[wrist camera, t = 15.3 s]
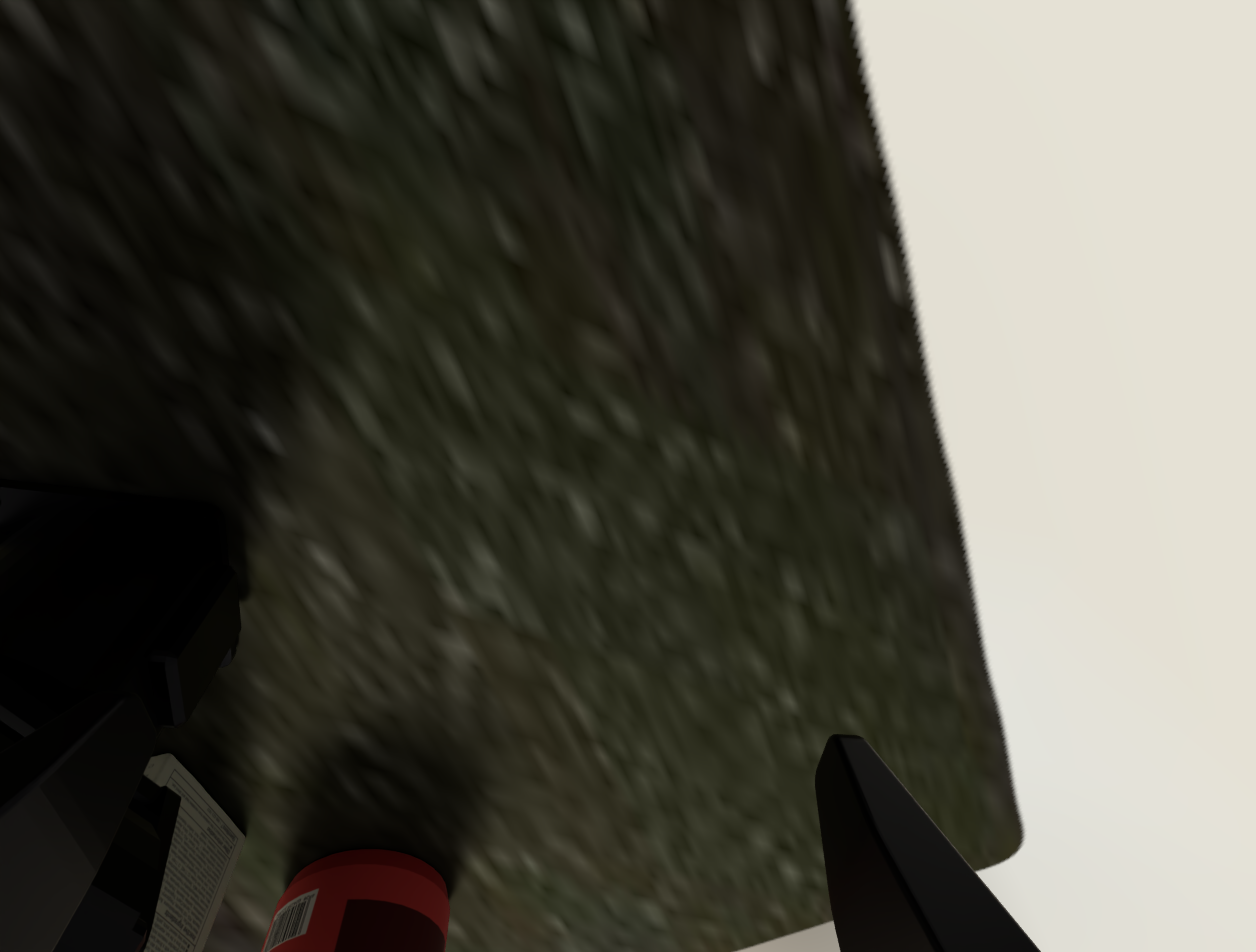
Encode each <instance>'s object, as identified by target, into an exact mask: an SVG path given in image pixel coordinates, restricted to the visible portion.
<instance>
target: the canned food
mask: <svg viewBox="0 0 1256 952" xmlns="http://www.w3.org/2000/svg"><path fill="white" fill-rule="evenodd" d="M449 914H450V906H449V900H448V893H447V888H446V884H445V882H444V880H443V878H442V877H441V875H440V874H439V873H438V872H437V871H436V870H435V869H434V868H433V867H431V866H430V865H428V864H427V863H425V862H424V861H422V860H420V859H418V858H415V857H413V856H411V855H408V854H404V853H401V852H397V851H391V850H383V849H357V850H349V851H344V852H340V853H335V854H332V855H329V856H327V857H324V858H321V859H319V860H317V861H315V862H313V863H311V864H310V865H308V866H306V867H305V868H304V869H302V870H301V871H300V872H299V873H298V874H297V875H296V876H295V877H294V879H293V880H292V882H291V883H290V885H289V886H288V888H287V889H286V891H285V892H284V894H283V895H282V897H281V899H280V900H279V902H278V904H277V907H276V910H275V913H274V916H273V919H272V922H271V925H270V928H269V930H268V933H267V936H266V939H265V942H264V945H263V948H262V951H261V952H445V947H446V939H447V931H448V922H449Z"/></svg>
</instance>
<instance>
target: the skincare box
mask: <svg viewBox="0 0 1256 952" xmlns="http://www.w3.org/2000/svg"><path fill="white" fill-rule="evenodd" d="M144 775H145V776H146V777H148V778H149V779H150V780H152V781H153V782H155V783H156V784H157V785H159V786H160V787H162V786H167V787H169V788H170V789H171V790H173V791H174V792H175V793H177V794H178V795H180V796H181V803H180V808H179V812H178V816H177V821H176V825H175V830H174V834H173V838H172V843H171V847H170V851H169V856H168V860H167V864H166V869H165V873H164V878H163V882H162V886H161V891H160V895H159V899H158V904H157V908H156V912H155V917H154V921H153V925H152V930H151V933H150V936H149V939H148V942H147V945H146V948H145V950H144V952H202V951H203V948H204V945H205V943H206V940H207V938H208V935H209V933H210V930H211V927H212V925H213V922H214V920H215V917H216V915H217V912H218V909H219V907H220V904H221V902H222V899H223V896H224V894H225V891H226V889H227V886H228V883H229V881H230V878H231V876H232V873H233V870H234V868H235V865H236V863H237V860H238V857H239V855H240V852H241V850H242V847H243V844H244V842H245V836H244V835H243V833H242V832H241V831H240V830H239V829H238V828H237V826H236V825H235V824H234V823H233V822H232V820H231V819H230V818H229V817H228V815H227V814H226V813H225V812H224V811H223V810H222V809H221V808H220V806H219V805H218V804H217V803H216V802H215V801H214V800H213V799H212V798H211V797H210V795H209V794H208V793H207V792H206V791H205V789H204V788H203V787H202V786H201V785H200V783H199V782H198V781H197V780H196V779H195V778H194V777H193V776H192V775H191V774H190V773H189V772H188V771H187V770H186V769H185V768H184V767H183V766H182V765H181V763H180V762H179V761H178V760H177V759H176V758H175V757H174V756H173V755H172V754H170V753H166V754H162V755H158V756H154V757H151V758H150V761H149V763H148V765H147V767H146V769H145V771H144Z"/></svg>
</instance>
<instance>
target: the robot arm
mask: <svg viewBox="0 0 1256 952" xmlns="http://www.w3.org/2000/svg"><path fill="white" fill-rule="evenodd" d="M198 516H202V517H205V518H206V519H208V520H209V522H210V523H206V522H203V521H202V520H200V519H199V517H198ZM240 630H241V619H240V607H239V595H238V583H237V573H236V572H235V570H234V569H233V568H232V566H229V561H228V550H227V538H226V527H225V517H224V515H223V512H222V511H221V510H220V509H219V508H218V507H216V506H215V505H213V504H210V503H206V502H198V501H190V500H181V499H172V498H163V497H155V496H146V495H137V494H128V493H120V492H111V491H102V490H93V489H85V488H76V487H67V486H58V485H50V484H41V483H32V482H23V481H15V480H6V479H0V952H144V950H145V948H146V945H147V942H148V939H149V936H150V933H151V930H152V925H153V921H154V917H155V912H156V908H157V904H158V899H159V895H160V891H161V886H162V882H163V878H164V873H165V869H166V864H167V860H168V856H169V851H170V847H171V843H172V838H173V834H174V830H175V825H176V821H177V816H178V812H179V808H180V803H181V796H180V795H178V794H177V793H175V792H174V791H173V790H171V789H170V788H169V787H167V786H162V787H160V786H159V785H157V784H156V783H155V782H153V781H152V780H150V779H149V778H148V777H146V776H145V775H144V771H145V769H146V767H147V765H148V763H149V761H150V758H151V756H152V754H153V752H154V749H155V745H156V739H157V738H158V736H159V734H160V733H161V731H162V730H163V728H178V727H180V726H181V725H182V724H184V723H185V722H186V721H187V720H188V719H189V717H190V715H191V714H192V712H193V710H194V709H195V707H196V705H197V703H198V702H199V700H200V698H201V697H202V695H203V693H204V692H205V690H206V688H207V687H208V685H209V683H210V681H211V680H212V678H213V676H214V675H215V673H216V671H217V670H218V668H220V667H225V666H227V665H229V664H230V663H231V661H232V659H233V658H234V656H235V654H236V637H237V636H238V634H239V632H240ZM815 790H816V798H817V806H818V813H819V821H820V829H821V837H822V844H823V852H824V860H825V867H826V875H827V883H828V890H829V897H830V904H831V910H832V915H833V920H834V924H835V930H836V934H837V938H838V943H839V947H840V951H841V952H1041V951H1040V950H1039V949H1038V948H1037V947H1036V945H1035V944H1034V943H1033V941H1032V940H1031V939H1030V938H1029V937H1028V935H1027V934H1026V933H1025V932H1024V931H1023V929H1022V928H1021V927H1020V926H1019V925H1018V923H1017V922H1016V921H1015V920H1014V919H1013V917H1012V916H1011V915H1010V914H1009V913H1008V911H1007V910H1006V909H1005V908H1004V907H1003V905H1002V904H1001V903H1000V902H999V900H998V899H997V898H996V897H995V896H994V894H993V893H992V892H991V891H990V889H989V888H988V887H987V886H986V885H985V884H984V882H983V881H982V880H981V879H980V878H979V877H978V875H977V874H976V873H975V871H974V870H973V869H972V868H971V866H970V865H969V864H968V863H967V862H966V860H965V859H964V858H963V857H962V856H961V854H960V853H959V852H958V851H957V850H956V848H955V847H954V846H953V845H952V844H951V842H950V841H949V840H948V839H947V837H946V836H945V835H944V834H943V833H942V831H941V830H940V829H939V828H938V827H937V825H936V824H935V823H934V822H933V821H932V819H931V818H930V817H929V816H928V814H927V813H926V812H925V811H924V810H923V808H922V807H921V806H920V805H919V804H918V802H917V801H916V800H915V799H914V798H913V796H912V795H911V794H910V793H909V791H908V790H907V789H906V788H905V787H904V785H903V784H902V783H901V782H900V781H899V779H898V778H897V777H896V776H895V775H894V773H893V772H892V771H891V770H890V769H889V767H888V766H887V765H886V764H885V762H884V761H883V760H882V759H881V758H880V756H879V755H878V754H877V753H876V752H875V750H874V749H873V748H872V747H871V746H870V744H869V743H868V742H867V741H866V740H865V739H864V738H862V737H860V736H857V735H843V734H833V735H832V736H830V737H829V739H828V741H827V743H826V746H825V748H824V751H823V754H822V756H821V759H820V762H819V764H818V767H817V770H816V775H815Z"/></svg>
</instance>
